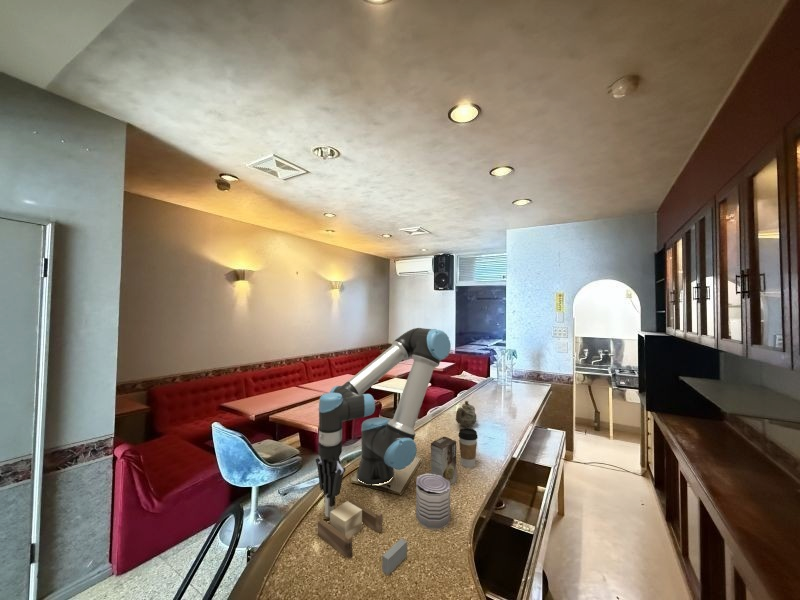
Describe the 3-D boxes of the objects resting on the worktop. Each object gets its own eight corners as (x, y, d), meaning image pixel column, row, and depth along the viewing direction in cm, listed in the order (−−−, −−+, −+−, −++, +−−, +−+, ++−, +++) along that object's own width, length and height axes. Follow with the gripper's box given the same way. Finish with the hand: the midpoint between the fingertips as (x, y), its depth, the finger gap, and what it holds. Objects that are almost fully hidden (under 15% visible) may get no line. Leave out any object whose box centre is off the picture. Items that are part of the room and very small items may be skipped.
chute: (352, 511, 105) (352, 496, 105) (382, 530, 96) (382, 513, 96) (317, 535, 94) (317, 517, 94) (348, 558, 85) (348, 539, 85)
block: (347, 519, 101) (347, 500, 101) (361, 529, 97) (362, 509, 97) (329, 531, 96) (330, 511, 96) (344, 542, 91) (345, 521, 92)
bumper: (401, 552, 88) (401, 538, 88) (406, 556, 86) (406, 541, 86) (382, 571, 81) (382, 555, 81) (388, 575, 80) (388, 559, 80)
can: (415, 506, 108) (415, 471, 108) (448, 507, 108) (448, 472, 108) (416, 529, 97) (416, 490, 97) (452, 530, 96) (452, 491, 97)
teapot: (464, 419, 193) (464, 394, 193) (482, 423, 186) (482, 398, 186) (448, 430, 175) (448, 403, 176) (467, 435, 168) (467, 407, 169)
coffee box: (444, 475, 128) (444, 435, 129) (457, 481, 124) (457, 440, 124) (430, 483, 122) (430, 442, 122) (443, 490, 117) (443, 447, 118)
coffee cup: (454, 464, 137) (454, 430, 137) (464, 457, 143) (464, 425, 143) (471, 471, 131) (471, 435, 131) (481, 464, 137) (481, 430, 137)
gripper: (309, 440, 103) (308, 511, 103) (333, 451, 95) (332, 529, 94) (327, 433, 109) (326, 500, 109) (352, 443, 101) (351, 517, 100)
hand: (329, 514), depth 101 cm, fingers closed
